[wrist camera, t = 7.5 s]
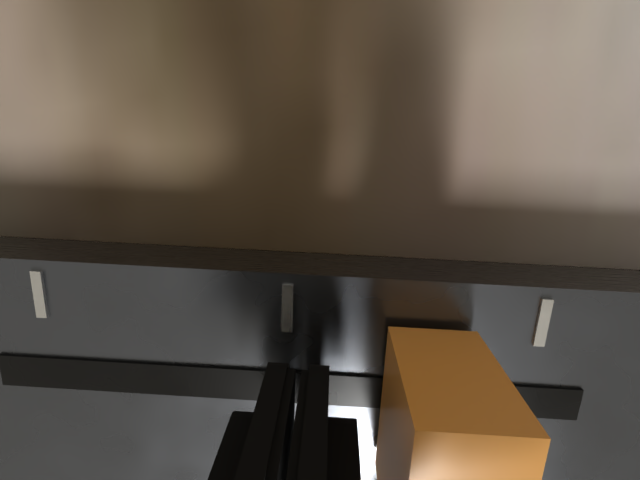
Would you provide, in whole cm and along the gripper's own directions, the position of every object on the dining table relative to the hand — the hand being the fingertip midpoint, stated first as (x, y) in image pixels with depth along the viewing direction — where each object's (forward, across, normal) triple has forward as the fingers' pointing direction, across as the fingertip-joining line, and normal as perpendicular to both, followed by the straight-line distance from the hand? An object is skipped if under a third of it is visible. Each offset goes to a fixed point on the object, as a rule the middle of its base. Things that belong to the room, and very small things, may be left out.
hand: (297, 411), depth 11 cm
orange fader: (+1, -3, 0) cm, 4 cm away
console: (+3, 0, +4) cm, 5 cm away
